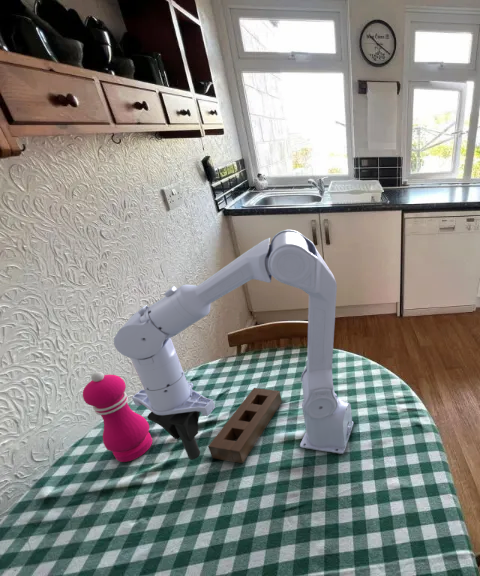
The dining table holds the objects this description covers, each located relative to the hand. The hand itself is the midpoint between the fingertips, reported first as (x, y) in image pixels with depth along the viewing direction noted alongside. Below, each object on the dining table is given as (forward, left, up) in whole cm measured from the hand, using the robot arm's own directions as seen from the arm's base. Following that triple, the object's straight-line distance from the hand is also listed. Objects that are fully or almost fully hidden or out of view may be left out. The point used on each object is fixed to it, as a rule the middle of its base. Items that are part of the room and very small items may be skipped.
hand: (186, 435), depth 58 cm
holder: (-5, -10, -8) cm, 14 cm away
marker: (0, 0, -5) cm, 5 cm away
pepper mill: (+16, -1, -8) cm, 18 cm away
